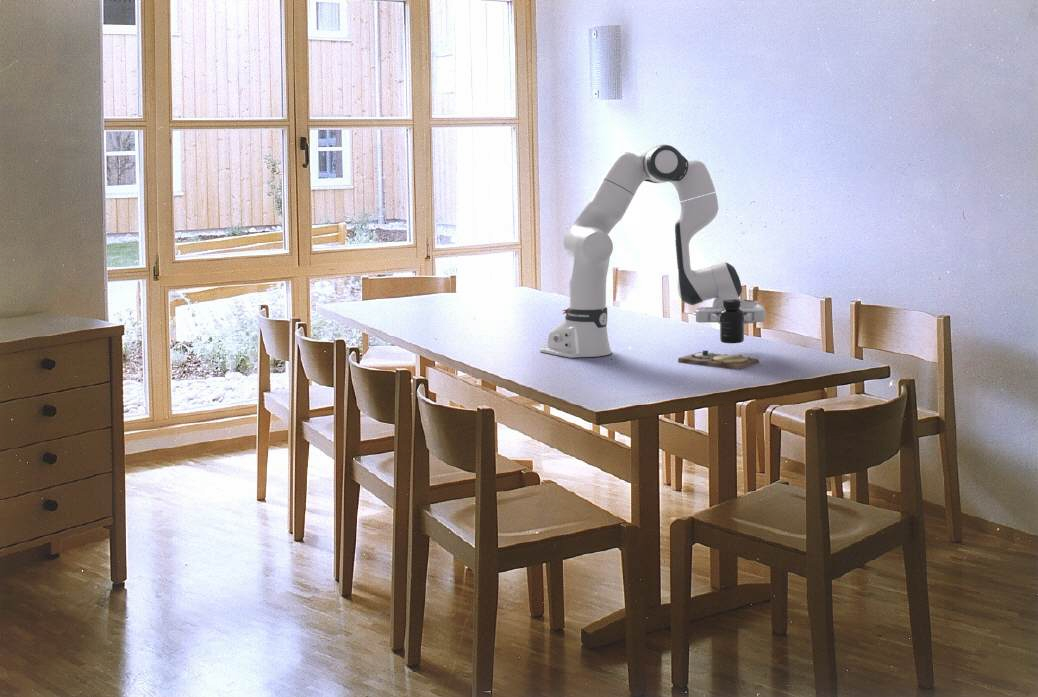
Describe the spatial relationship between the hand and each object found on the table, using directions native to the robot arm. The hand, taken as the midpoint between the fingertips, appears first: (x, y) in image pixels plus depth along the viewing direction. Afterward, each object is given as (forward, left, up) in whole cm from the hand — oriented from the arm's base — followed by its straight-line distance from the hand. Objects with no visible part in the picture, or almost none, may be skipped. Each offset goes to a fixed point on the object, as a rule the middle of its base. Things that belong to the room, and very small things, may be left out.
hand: (731, 319), depth 348 cm
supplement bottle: (0, +1, -7) cm, 7 cm away
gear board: (-5, +1, -13) cm, 14 cm away
